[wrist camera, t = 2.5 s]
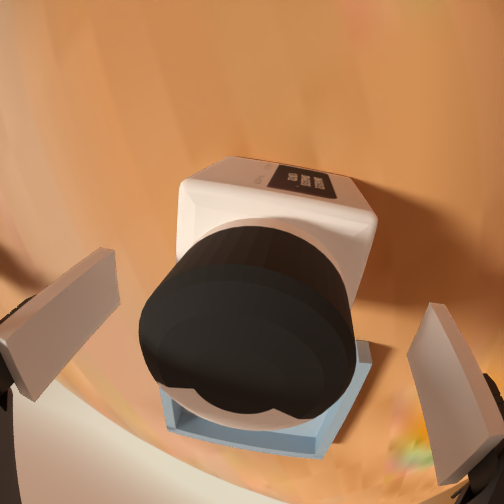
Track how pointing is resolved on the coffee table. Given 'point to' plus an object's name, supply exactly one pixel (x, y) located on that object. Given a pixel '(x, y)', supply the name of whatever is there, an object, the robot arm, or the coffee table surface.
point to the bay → (276, 441)
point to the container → (260, 294)
